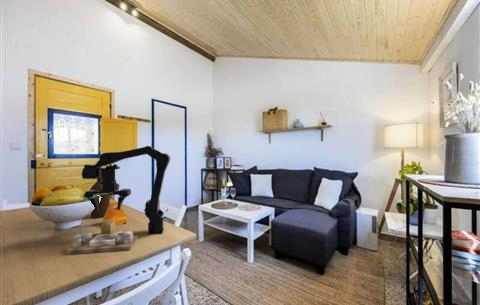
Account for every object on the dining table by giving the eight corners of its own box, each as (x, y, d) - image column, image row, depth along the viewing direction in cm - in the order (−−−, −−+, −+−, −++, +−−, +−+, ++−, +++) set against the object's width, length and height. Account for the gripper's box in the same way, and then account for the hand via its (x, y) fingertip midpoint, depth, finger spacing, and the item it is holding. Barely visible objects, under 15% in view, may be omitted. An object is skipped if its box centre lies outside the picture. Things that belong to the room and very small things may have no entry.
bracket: (105, 227, 114) (106, 204, 114) (103, 224, 120) (103, 202, 120) (128, 223, 122) (128, 201, 121) (124, 219, 127) (124, 199, 127)
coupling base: (137, 238, 102) (137, 226, 101) (130, 250, 90) (130, 236, 90) (82, 241, 97) (82, 229, 97) (66, 254, 85) (66, 240, 85)
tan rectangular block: (106, 232, 108) (106, 220, 108) (115, 232, 109) (115, 220, 109) (101, 237, 102) (101, 224, 102) (110, 236, 103) (110, 224, 103)
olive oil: (113, 215, 134) (113, 175, 134) (93, 219, 126) (93, 176, 126) (106, 212, 141) (106, 173, 141) (87, 216, 133) (87, 175, 132)
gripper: (134, 176, 115) (134, 205, 115) (94, 176, 111) (94, 207, 111) (127, 179, 104) (127, 211, 104) (83, 180, 100) (83, 213, 100)
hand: (108, 211), depth 105 cm, fingers open, 9 cm apart
